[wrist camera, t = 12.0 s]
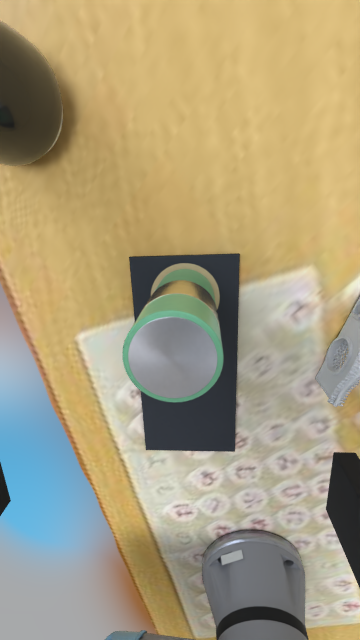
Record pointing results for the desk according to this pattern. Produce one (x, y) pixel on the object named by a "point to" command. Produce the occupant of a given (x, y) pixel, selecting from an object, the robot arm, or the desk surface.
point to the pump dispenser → (26, 101)
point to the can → (176, 340)
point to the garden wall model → (333, 379)
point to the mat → (220, 400)
